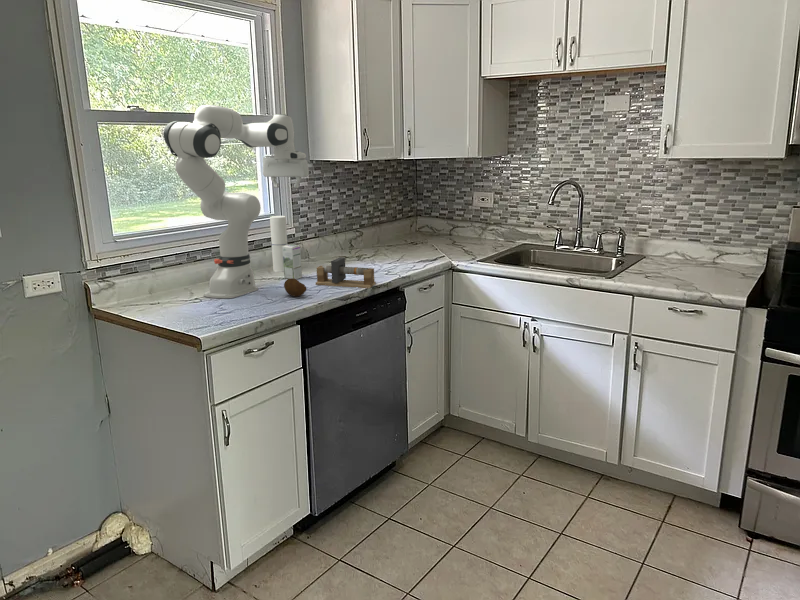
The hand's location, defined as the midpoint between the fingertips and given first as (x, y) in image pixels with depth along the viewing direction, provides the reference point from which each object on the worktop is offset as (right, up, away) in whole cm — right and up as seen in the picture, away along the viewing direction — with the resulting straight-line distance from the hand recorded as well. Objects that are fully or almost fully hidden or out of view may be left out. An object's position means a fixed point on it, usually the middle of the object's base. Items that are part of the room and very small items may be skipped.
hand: (286, 187), depth 260 cm
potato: (+7, -47, -23) cm, 53 cm away
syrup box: (+2, -39, +7) cm, 39 cm away
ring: (+23, -40, -5) cm, 46 cm away
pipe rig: (+26, -42, -6) cm, 49 cm away
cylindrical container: (-7, -35, +23) cm, 42 cm away
